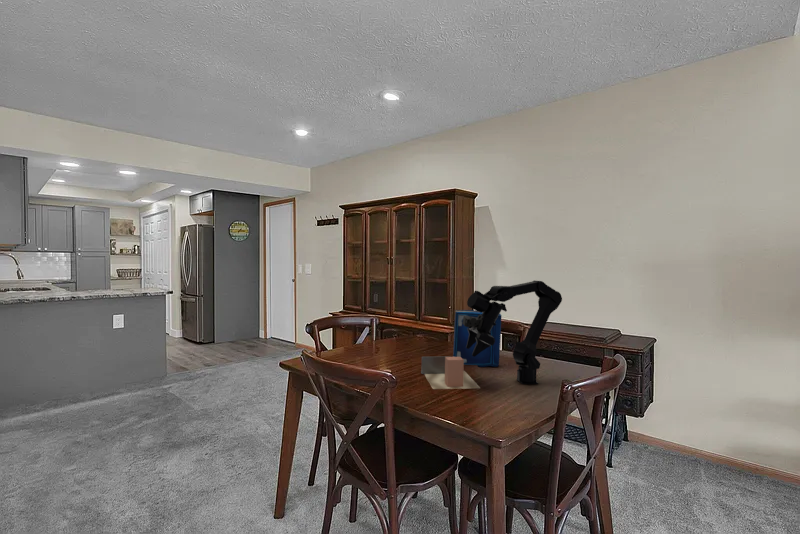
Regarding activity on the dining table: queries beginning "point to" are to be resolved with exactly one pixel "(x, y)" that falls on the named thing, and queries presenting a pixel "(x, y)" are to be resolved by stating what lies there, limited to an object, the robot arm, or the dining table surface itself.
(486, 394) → the dining table surface
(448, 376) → the salmon pink rectangular block
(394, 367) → the dining table surface
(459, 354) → the book
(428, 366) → the bookend
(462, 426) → the dining table surface
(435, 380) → the beige cloth placemat
